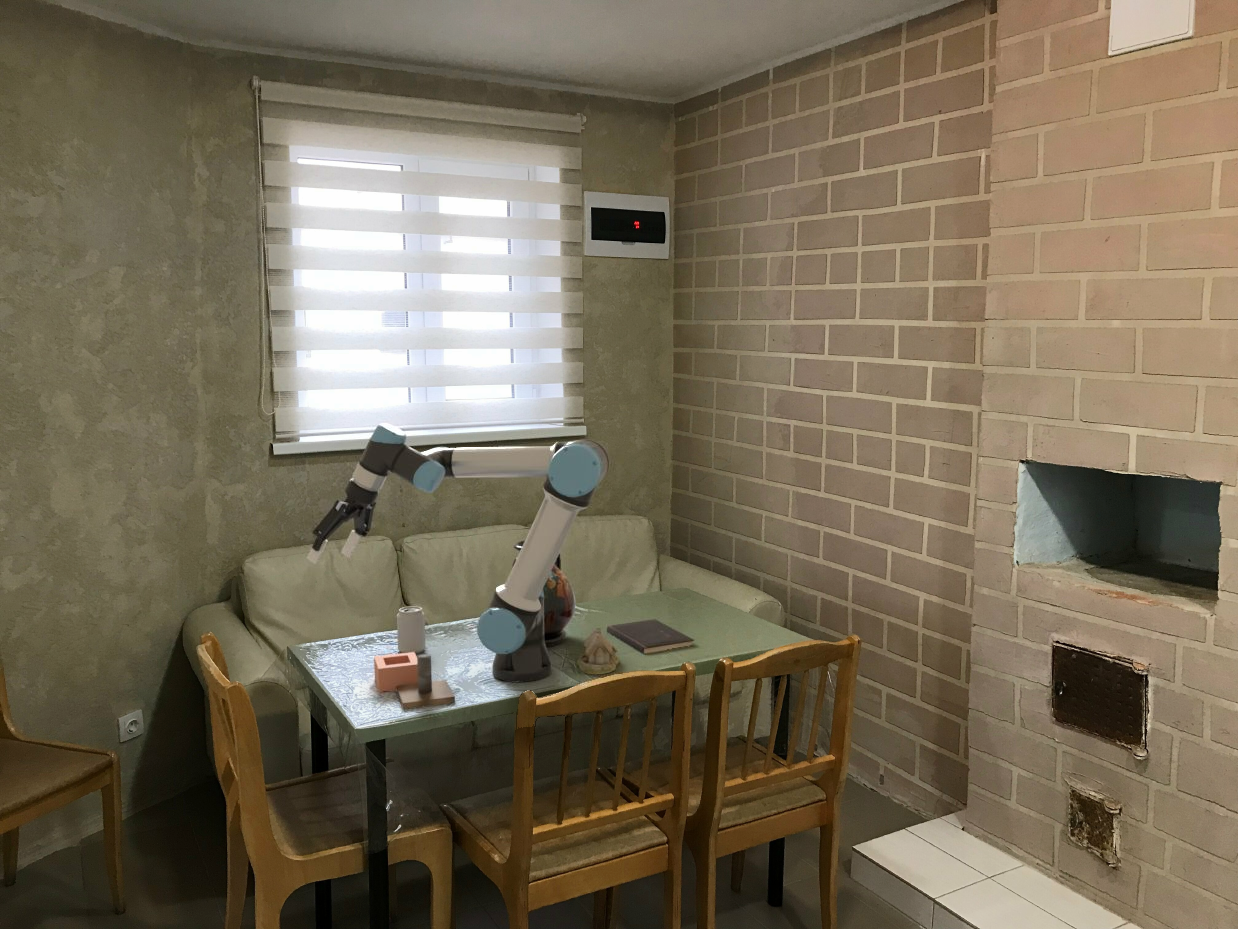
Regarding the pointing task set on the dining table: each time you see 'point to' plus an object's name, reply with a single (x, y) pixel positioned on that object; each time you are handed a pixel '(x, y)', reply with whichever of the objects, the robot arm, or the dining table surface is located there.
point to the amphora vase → (555, 603)
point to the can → (411, 629)
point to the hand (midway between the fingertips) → (329, 558)
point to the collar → (395, 670)
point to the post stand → (425, 688)
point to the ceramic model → (598, 655)
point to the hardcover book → (649, 636)
